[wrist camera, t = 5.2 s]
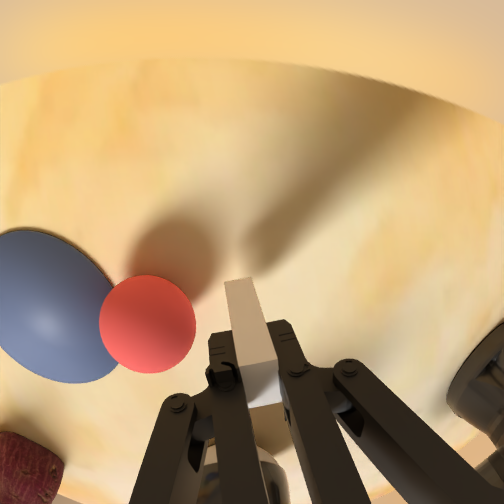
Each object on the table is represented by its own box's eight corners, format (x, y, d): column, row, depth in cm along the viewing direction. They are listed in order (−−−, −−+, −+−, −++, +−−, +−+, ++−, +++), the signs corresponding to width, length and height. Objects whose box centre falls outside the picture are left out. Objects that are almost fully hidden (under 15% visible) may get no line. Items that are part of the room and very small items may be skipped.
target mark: (90, 209, 16) (88, 210, 16) (151, 375, 22) (151, 377, 22) (-46, 250, 15) (-48, 251, 15) (23, 382, 21) (22, 384, 20)
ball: (83, 325, 12) (86, 274, 17) (124, 404, 15) (114, 345, 19) (198, 291, 14) (172, 249, 19) (217, 374, 17) (189, 322, 21)
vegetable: (-3, 406, 26) (-64, 472, 11) (64, 437, 27) (13, 525, 12) (12, 459, 27) (-31, 522, 12) (73, 487, 28) (40, 564, 13)
